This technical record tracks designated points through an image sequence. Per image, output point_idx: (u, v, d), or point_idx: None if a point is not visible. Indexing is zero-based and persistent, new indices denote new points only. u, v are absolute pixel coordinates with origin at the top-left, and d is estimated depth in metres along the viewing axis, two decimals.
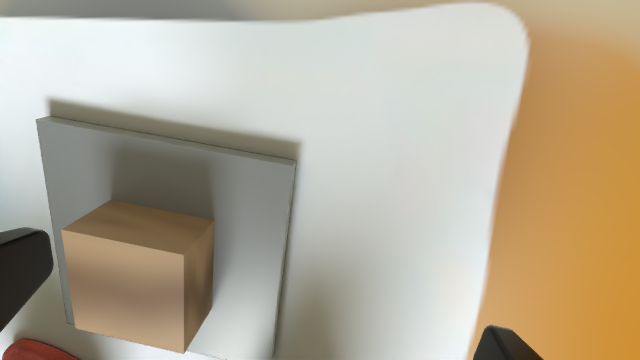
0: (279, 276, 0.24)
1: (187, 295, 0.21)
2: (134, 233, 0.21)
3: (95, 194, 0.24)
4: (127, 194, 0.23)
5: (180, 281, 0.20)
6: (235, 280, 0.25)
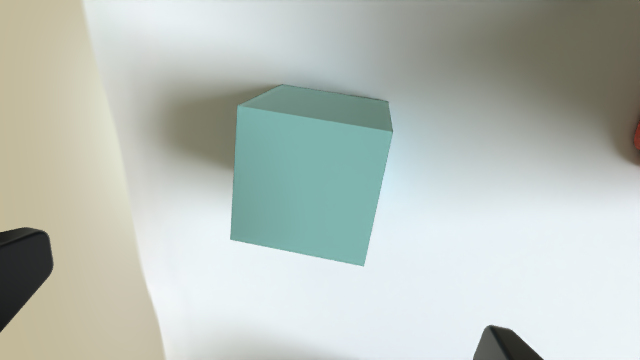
0: None
1: None
2: None
3: None
4: None
5: None
6: None
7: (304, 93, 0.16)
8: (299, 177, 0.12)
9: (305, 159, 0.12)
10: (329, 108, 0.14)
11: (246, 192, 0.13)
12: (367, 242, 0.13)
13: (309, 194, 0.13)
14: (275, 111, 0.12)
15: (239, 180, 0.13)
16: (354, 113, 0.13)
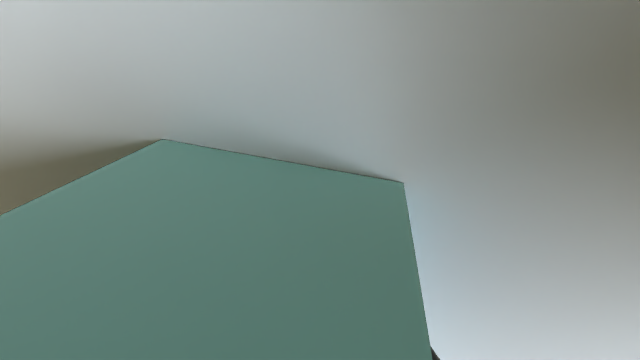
0: None
1: None
2: None
3: None
4: None
5: None
6: None
7: (189, 177, 0.06)
8: None
9: None
10: (208, 281, 0.04)
11: None
12: None
13: None
14: None
15: None
16: (291, 315, 0.04)
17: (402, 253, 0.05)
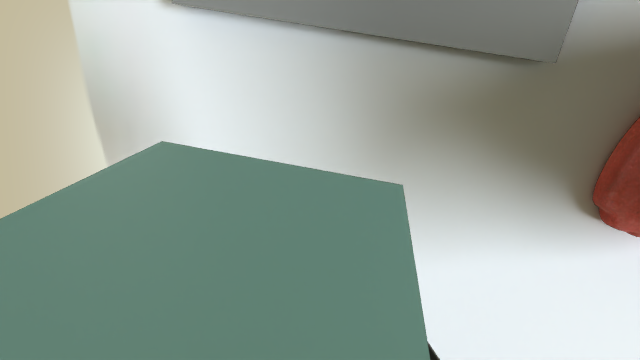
0: None
1: None
2: None
3: None
4: None
5: None
6: None
7: (188, 180, 0.06)
8: None
9: None
10: (207, 285, 0.04)
11: None
12: None
13: None
14: None
15: None
16: (290, 319, 0.04)
17: (401, 256, 0.05)
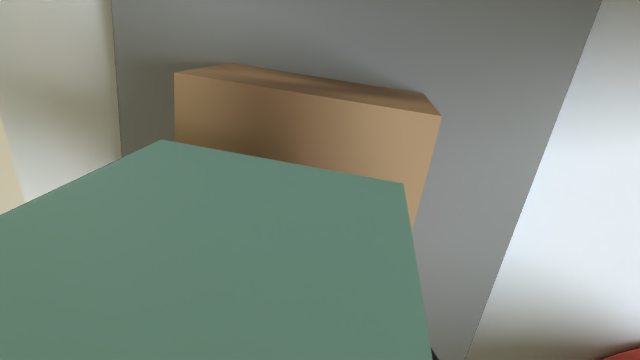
0: None
1: (290, 88, 0.10)
2: None
3: None
4: None
5: (237, 90, 0.10)
6: (352, 33, 0.13)
7: (188, 177, 0.06)
8: None
9: None
10: (206, 283, 0.04)
11: None
12: None
13: None
14: None
15: None
16: (290, 317, 0.04)
17: (402, 254, 0.05)
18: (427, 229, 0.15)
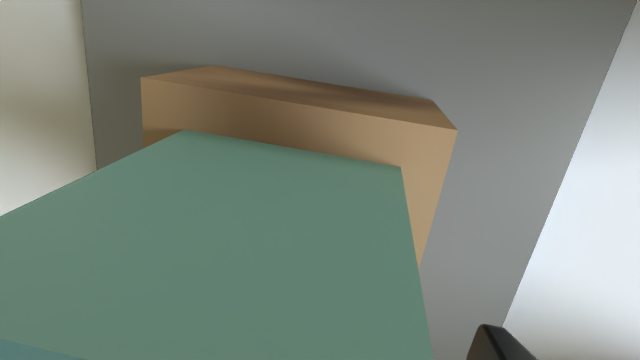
0: None
1: (277, 95, 0.08)
2: None
3: None
4: None
5: (214, 98, 0.08)
6: (351, 32, 0.11)
7: (212, 160, 0.07)
8: None
9: None
10: (240, 236, 0.05)
11: None
12: None
13: None
14: None
15: None
16: (309, 259, 0.04)
17: (399, 219, 0.06)
18: (435, 250, 0.13)
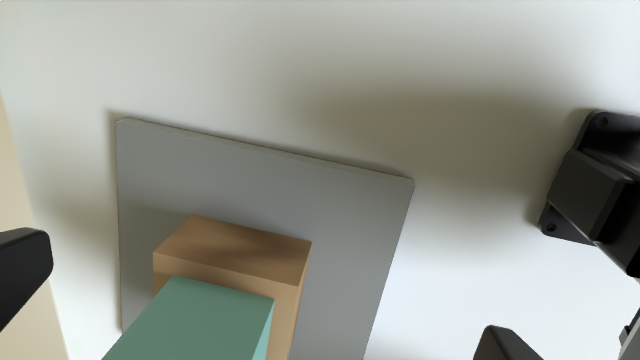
0: (255, 151, 0.19)
1: (219, 260, 0.18)
2: None
3: None
4: None
5: (188, 264, 0.17)
6: (267, 205, 0.20)
7: (185, 303, 0.16)
8: None
9: None
10: (190, 353, 0.14)
11: None
12: None
13: None
14: None
15: None
16: None
17: (254, 340, 0.15)
18: (320, 318, 0.22)
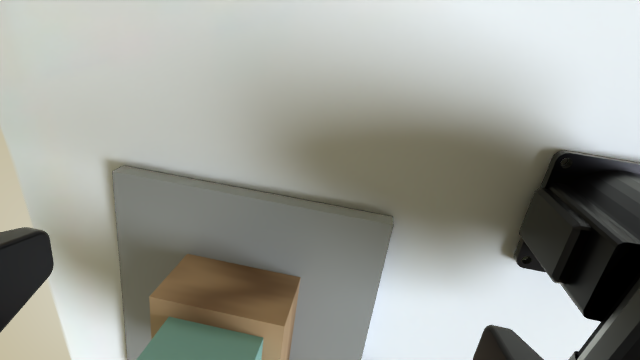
0: (243, 196, 0.20)
1: (210, 302, 0.19)
2: None
3: None
4: None
5: (182, 306, 0.19)
6: (256, 245, 0.21)
7: (178, 345, 0.17)
8: None
9: None
10: None
11: None
12: None
13: None
14: None
15: None
16: None
17: None
18: (312, 347, 0.24)
